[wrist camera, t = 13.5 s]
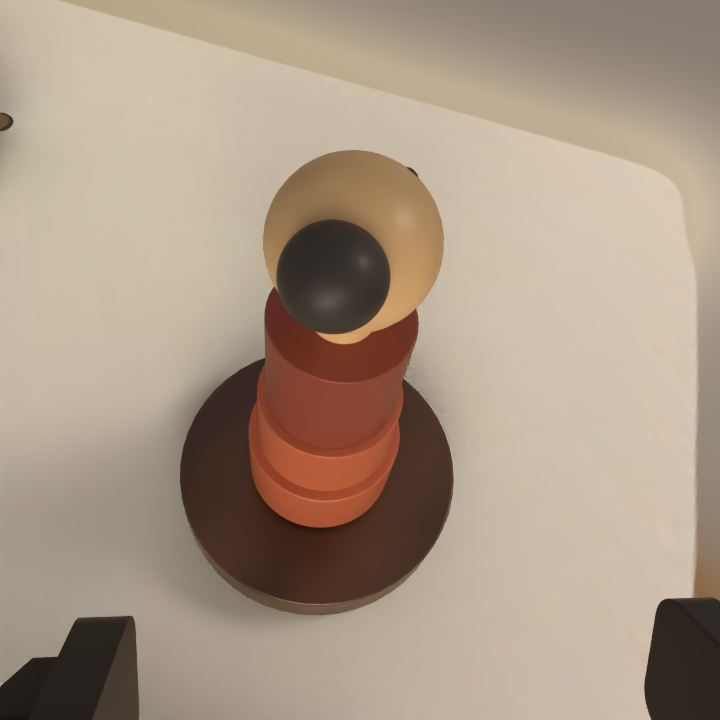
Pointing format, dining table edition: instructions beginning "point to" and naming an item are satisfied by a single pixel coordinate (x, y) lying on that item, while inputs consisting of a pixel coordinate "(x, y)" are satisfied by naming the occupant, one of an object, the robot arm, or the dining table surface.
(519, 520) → the dining table surface
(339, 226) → the doll
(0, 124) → the bear figurine
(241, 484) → the doll stand
